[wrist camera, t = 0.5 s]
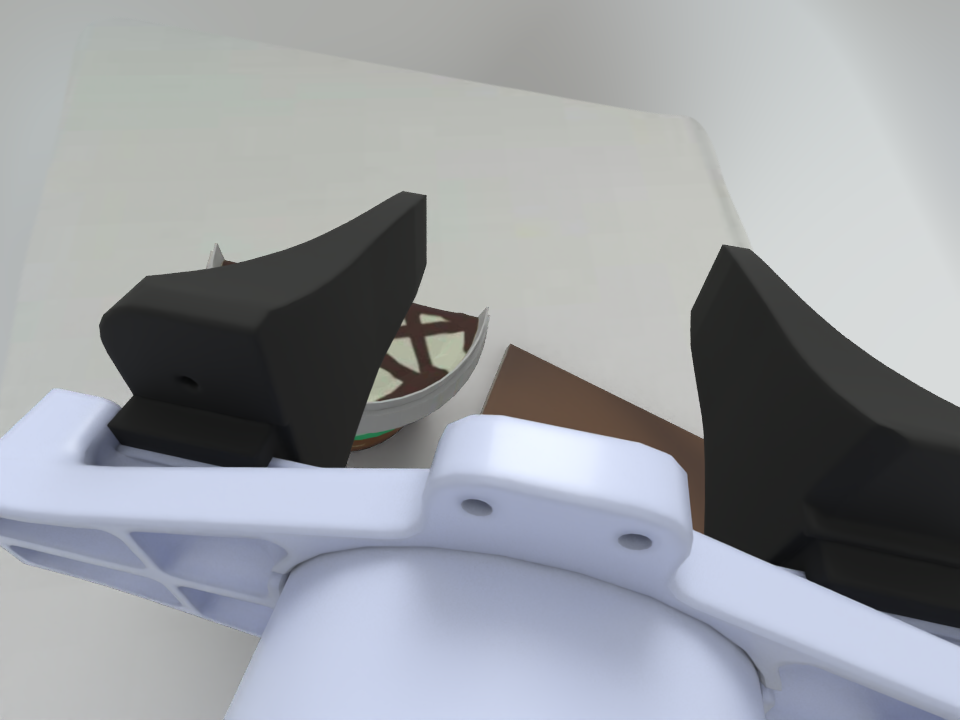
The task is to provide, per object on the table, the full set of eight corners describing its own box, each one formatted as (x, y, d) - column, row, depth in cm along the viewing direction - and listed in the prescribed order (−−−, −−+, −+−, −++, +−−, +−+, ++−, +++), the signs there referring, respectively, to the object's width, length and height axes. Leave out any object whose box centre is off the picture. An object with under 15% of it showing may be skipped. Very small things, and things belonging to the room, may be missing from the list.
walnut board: (731, 837, 26) (743, 844, 25) (369, 687, 24) (371, 690, 24) (764, 475, 36) (773, 473, 35) (506, 348, 34) (510, 343, 33)
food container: (198, 453, 26) (141, 384, 17) (234, 346, 29) (200, 238, 20) (435, 489, 29) (489, 444, 20) (448, 388, 32) (500, 309, 23)
